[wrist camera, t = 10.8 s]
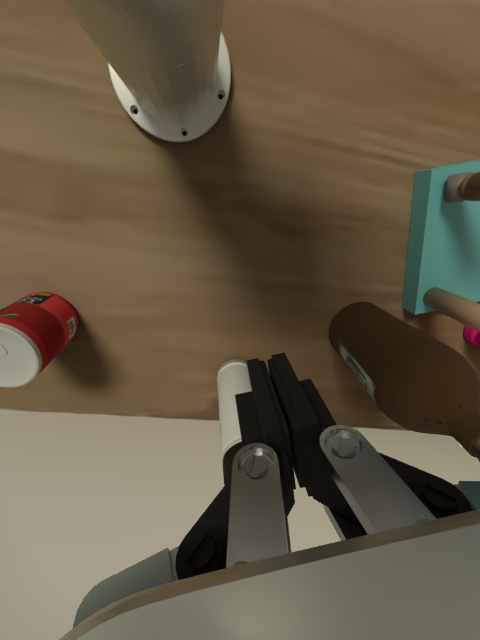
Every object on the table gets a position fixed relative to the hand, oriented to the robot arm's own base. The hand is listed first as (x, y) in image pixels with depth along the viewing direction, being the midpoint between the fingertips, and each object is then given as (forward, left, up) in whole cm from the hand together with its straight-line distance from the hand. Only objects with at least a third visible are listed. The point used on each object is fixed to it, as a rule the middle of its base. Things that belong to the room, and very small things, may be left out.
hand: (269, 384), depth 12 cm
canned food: (+4, -26, -29) cm, 39 cm away
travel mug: (+20, -2, -29) cm, 36 cm away
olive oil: (+16, +19, -29) cm, 38 cm away
